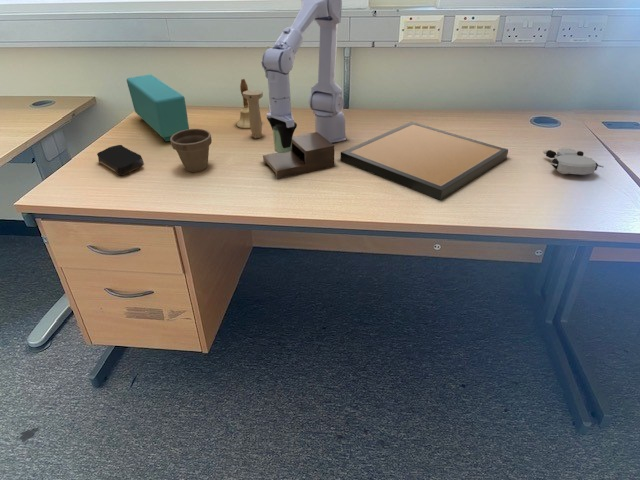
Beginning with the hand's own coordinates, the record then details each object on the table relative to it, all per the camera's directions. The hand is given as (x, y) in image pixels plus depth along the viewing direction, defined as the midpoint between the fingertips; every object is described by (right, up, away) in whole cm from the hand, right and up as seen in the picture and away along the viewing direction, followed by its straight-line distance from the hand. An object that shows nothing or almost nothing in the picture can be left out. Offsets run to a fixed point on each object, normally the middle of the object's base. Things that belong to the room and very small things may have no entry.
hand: (282, 143), depth 131 cm
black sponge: (-49, -5, +8) cm, 50 cm away
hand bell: (-15, +14, +35) cm, 41 cm away
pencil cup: (0, -1, +1) cm, 2 cm away
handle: (-11, +7, +25) cm, 28 cm away
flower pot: (-26, -6, +5) cm, 27 cm away
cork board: (+42, -3, +7) cm, 43 cm away
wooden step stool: (+4, -5, +6) cm, 9 cm away
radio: (-46, +12, +33) cm, 58 cm away
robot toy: (+82, -7, 0) cm, 82 cm away
